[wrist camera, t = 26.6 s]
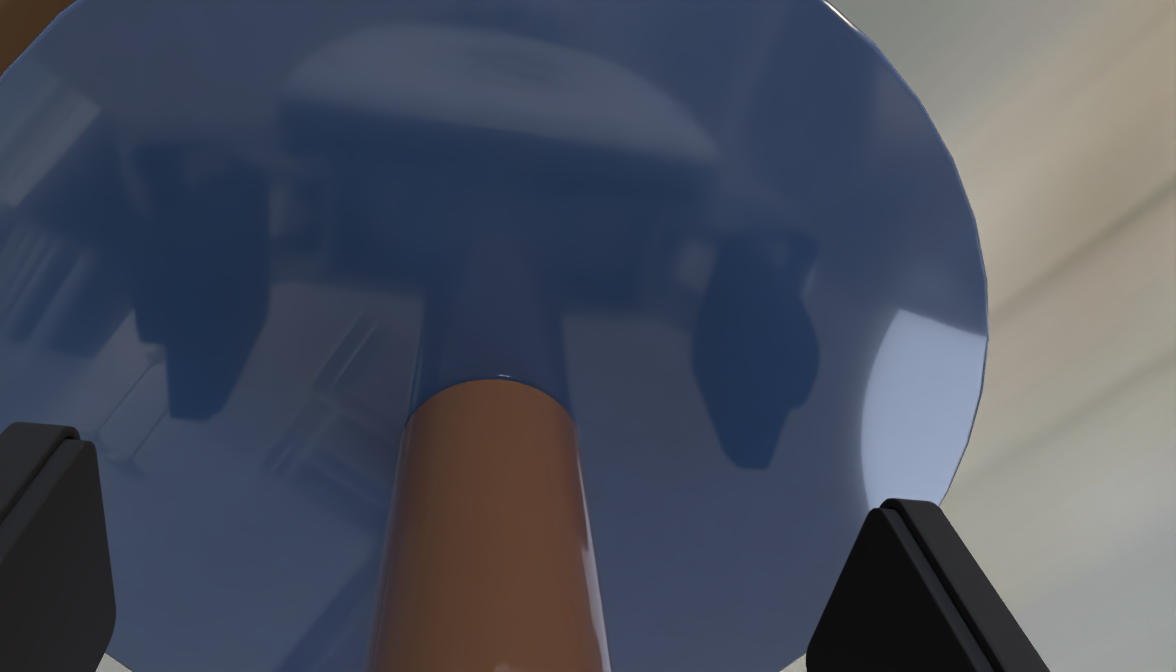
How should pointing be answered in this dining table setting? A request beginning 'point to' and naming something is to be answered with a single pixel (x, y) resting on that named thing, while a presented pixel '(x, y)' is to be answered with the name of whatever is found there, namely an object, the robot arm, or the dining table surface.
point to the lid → (483, 322)
